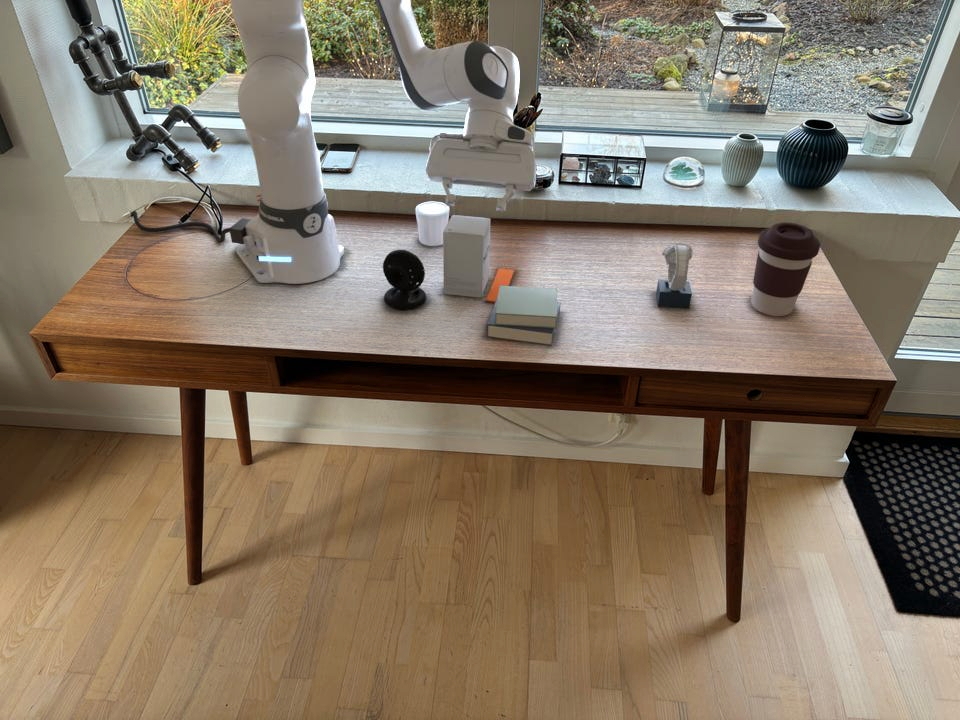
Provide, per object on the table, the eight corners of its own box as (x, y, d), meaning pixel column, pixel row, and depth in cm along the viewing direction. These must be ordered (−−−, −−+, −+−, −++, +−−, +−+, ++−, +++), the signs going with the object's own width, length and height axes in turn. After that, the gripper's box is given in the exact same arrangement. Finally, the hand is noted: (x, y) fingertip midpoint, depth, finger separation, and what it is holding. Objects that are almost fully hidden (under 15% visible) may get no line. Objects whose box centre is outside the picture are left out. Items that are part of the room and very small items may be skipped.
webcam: (376, 306, 139) (372, 256, 133) (395, 286, 145) (392, 237, 139) (416, 315, 137) (413, 264, 131) (433, 294, 142) (432, 245, 137)
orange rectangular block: (498, 270, 150) (498, 268, 150) (514, 271, 150) (514, 270, 150) (485, 301, 141) (485, 299, 140) (502, 303, 140) (502, 302, 140)
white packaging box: (482, 299, 142) (483, 235, 134) (442, 294, 143) (441, 231, 135) (490, 279, 147) (491, 217, 140) (451, 274, 149) (451, 213, 141)
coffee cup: (810, 319, 137) (834, 242, 129) (758, 323, 136) (778, 246, 127) (784, 290, 145) (804, 216, 137) (733, 294, 144) (751, 219, 135)
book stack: (486, 337, 131) (487, 312, 129) (498, 305, 140) (499, 281, 137) (553, 346, 130) (555, 321, 127) (561, 313, 138) (563, 289, 135)
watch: (685, 290, 145) (695, 237, 138) (690, 314, 138) (701, 258, 132) (654, 288, 145) (663, 235, 139) (657, 311, 139) (667, 256, 132)
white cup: (456, 237, 161) (456, 206, 157) (437, 250, 156) (436, 218, 152) (429, 229, 164) (428, 198, 160) (409, 241, 159) (408, 210, 155)
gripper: (429, 123, 143) (416, 195, 141) (539, 133, 140) (528, 206, 138) (435, 139, 149) (423, 208, 147) (542, 148, 146) (531, 219, 144)
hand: (475, 207), depth 142 cm, fingers open, 8 cm apart
